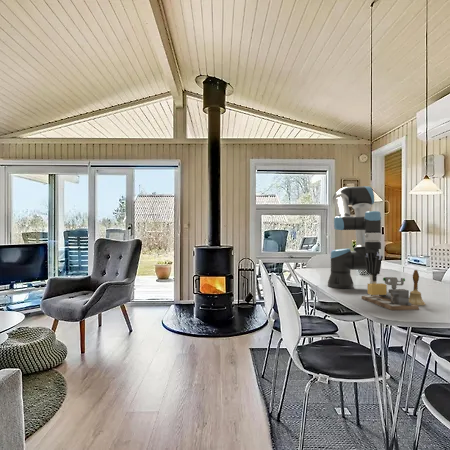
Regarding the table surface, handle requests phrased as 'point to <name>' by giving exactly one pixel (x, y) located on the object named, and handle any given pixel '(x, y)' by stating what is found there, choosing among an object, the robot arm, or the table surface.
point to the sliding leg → (377, 289)
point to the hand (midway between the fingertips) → (373, 287)
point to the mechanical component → (393, 282)
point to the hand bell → (416, 291)
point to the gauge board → (393, 300)
